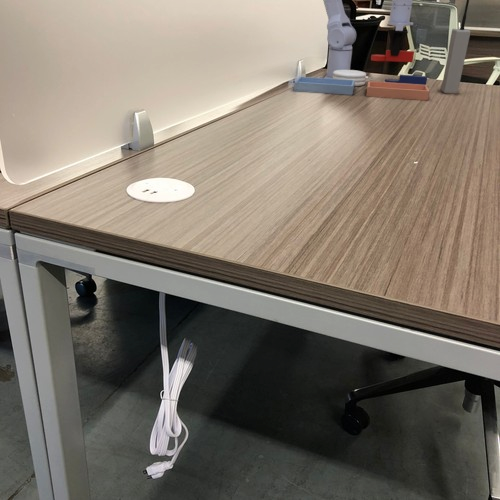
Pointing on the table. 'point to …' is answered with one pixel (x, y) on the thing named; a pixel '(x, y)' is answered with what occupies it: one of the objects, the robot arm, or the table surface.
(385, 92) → the red bin
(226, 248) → the table surface
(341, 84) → the blue bin
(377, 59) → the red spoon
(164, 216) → the table surface
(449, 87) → the vintage mobile phone
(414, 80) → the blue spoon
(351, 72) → the coaster
